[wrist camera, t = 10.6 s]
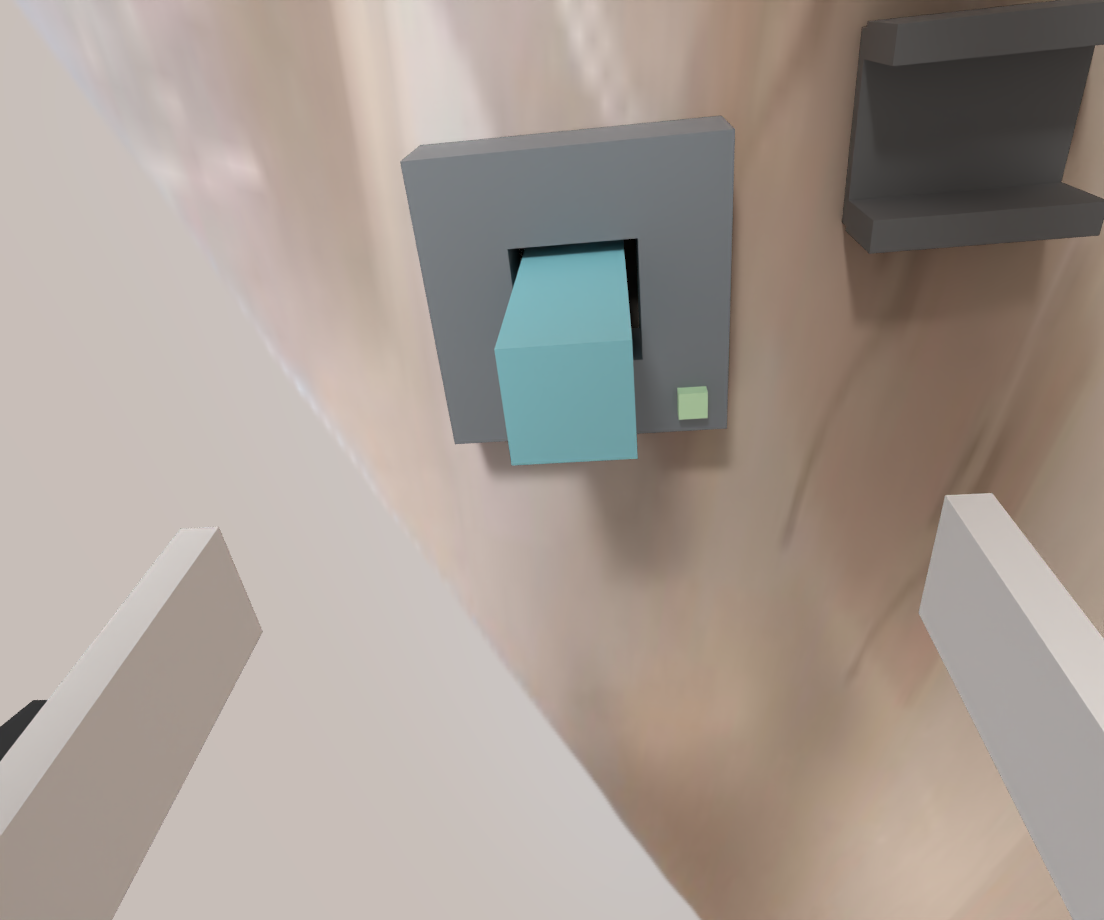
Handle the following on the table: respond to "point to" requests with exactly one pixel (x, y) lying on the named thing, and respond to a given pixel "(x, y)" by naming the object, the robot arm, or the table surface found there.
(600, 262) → the plug
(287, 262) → the table surface
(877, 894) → the table surface
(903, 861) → the table surface
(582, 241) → the port
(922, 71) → the holster
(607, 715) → the table surface
